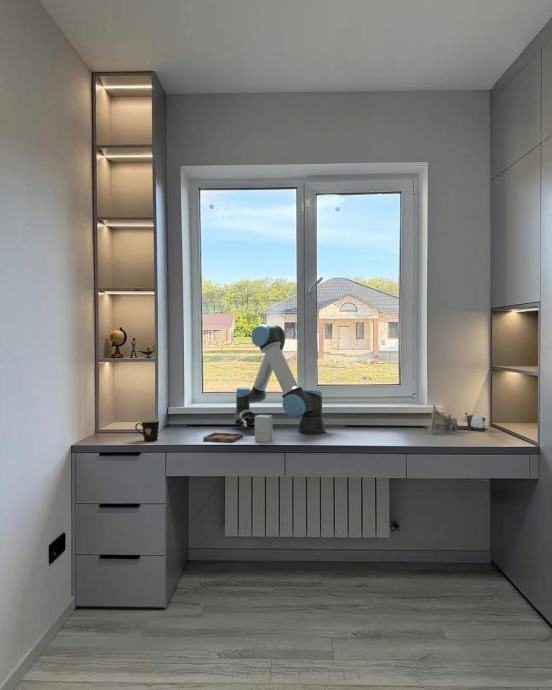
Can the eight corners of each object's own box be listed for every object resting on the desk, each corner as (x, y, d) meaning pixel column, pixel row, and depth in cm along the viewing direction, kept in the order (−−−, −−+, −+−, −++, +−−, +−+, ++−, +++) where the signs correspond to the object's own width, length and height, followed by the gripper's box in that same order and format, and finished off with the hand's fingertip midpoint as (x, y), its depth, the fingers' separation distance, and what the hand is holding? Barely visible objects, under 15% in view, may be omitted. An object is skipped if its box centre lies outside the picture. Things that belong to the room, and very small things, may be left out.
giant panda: (487, 431, 291) (487, 413, 291) (483, 432, 287) (483, 414, 287) (461, 428, 301) (461, 411, 301) (457, 429, 297) (457, 412, 297)
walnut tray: (242, 437, 275) (242, 433, 275) (233, 442, 262) (233, 438, 262) (214, 436, 279) (214, 432, 279) (203, 441, 266) (203, 437, 266)
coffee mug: (163, 440, 269) (162, 420, 269) (150, 442, 262) (150, 422, 262) (146, 437, 276) (146, 418, 275) (134, 440, 268) (134, 420, 268)
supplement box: (273, 439, 269) (273, 415, 269) (268, 442, 262) (268, 417, 262) (259, 439, 271) (259, 414, 271) (254, 441, 264) (254, 416, 264)
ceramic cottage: (426, 434, 282) (428, 406, 282) (428, 430, 297) (430, 403, 297) (457, 437, 277) (459, 409, 277) (458, 433, 292) (460, 406, 292)
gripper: (268, 423, 297) (281, 429, 277) (225, 425, 289) (235, 432, 269) (268, 409, 297) (281, 414, 277) (225, 411, 289) (235, 417, 269)
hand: (258, 423), depth 273 cm, fingers open, 13 cm apart
